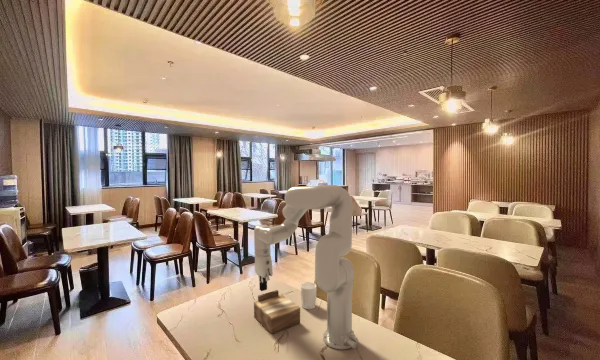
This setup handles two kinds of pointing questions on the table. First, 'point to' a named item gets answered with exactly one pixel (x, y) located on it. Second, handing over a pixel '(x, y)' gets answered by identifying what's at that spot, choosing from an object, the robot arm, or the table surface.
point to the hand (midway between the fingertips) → (263, 289)
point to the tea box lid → (275, 304)
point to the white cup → (308, 295)
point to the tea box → (276, 320)
